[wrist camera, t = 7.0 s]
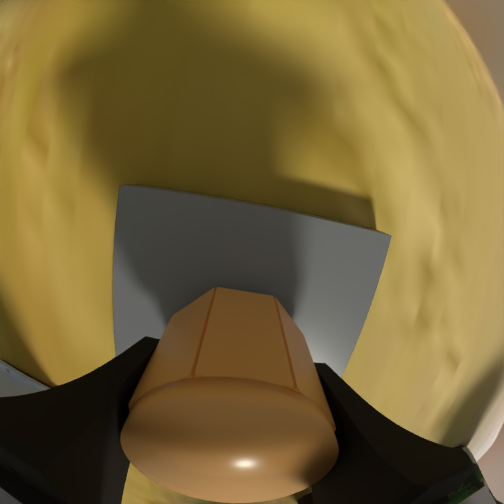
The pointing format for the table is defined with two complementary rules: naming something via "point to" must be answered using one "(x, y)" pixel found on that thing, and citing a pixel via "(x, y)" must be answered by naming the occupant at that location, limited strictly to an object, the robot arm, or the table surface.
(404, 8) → the table surface
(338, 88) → the table surface
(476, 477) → the coffee jar
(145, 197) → the plate
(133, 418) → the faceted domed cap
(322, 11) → the table surface
